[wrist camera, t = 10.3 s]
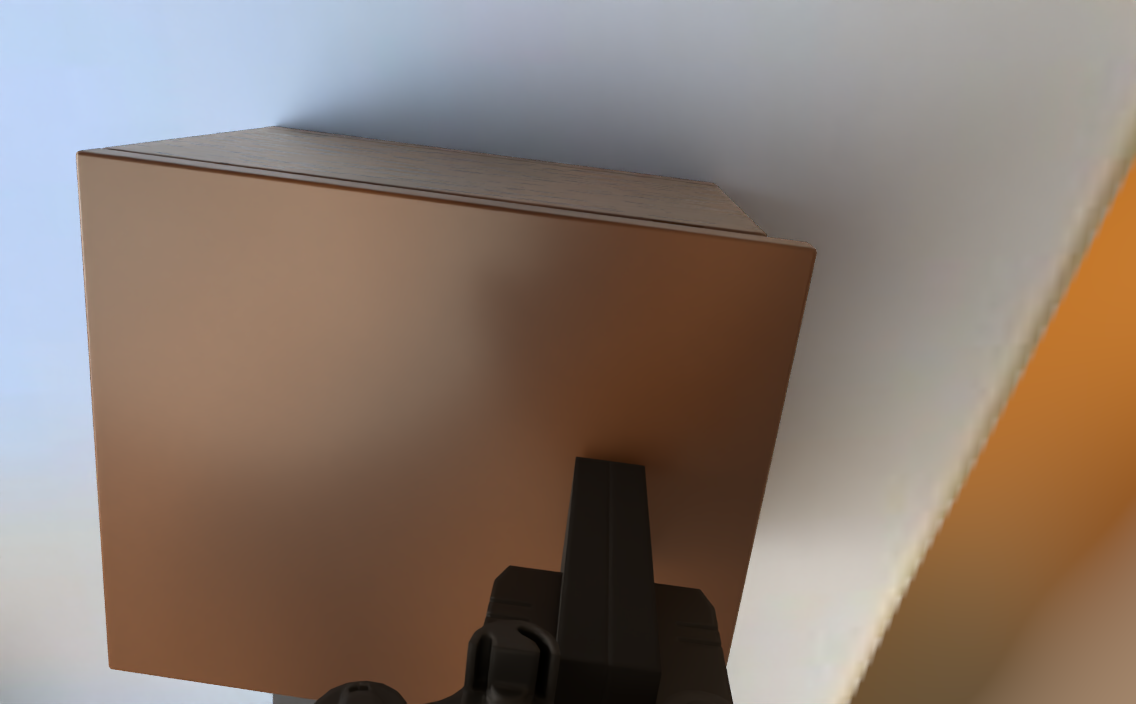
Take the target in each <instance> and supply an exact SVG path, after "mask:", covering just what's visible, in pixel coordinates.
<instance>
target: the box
mask: <svg viewBox="0 0 1136 704" xmlns="http://www.w3.org/2000/svg"><path fill="white" fill-rule="evenodd" d="M103 149H109V150H116V151H124V152H131V153H139V154H146V155H154V156H161V157H169V158H176V159H184V160H192V161H199V162H207V163H214V164H222V165H229V166H237V167H244V168H252V169H259V170H267V171H275V172H282V173H290V174H297V175H305V176H312V177H320V178H327V179H335V180H342V181H350V182H358V183H365V184H373V185H380V186H388V187H395V188H403V189H410V190H418V191H425V192H433V193H441V194H448V195H456V196H463V197H471V198H478V199H486V200H493V201H501V202H508V203H516V204H524V205H531V206H539V207H546V208H554V209H561V210H569V211H576V212H584V213H591V214H599V215H607V216H614V217H622V218H629V219H637V220H644V221H652V222H659V223H667V224H674V225H682V226H689V227H697V228H705V229H712V230H720V231H727V232H735V233H742V234H750V235H757V236H765V237H767V234H766V233H765V232H764V231H763V230H762V229H760V228H759V227H758V226H757V225H756V224H755V223H754V222H753V221H752V220H751V219H750V218H749V217H748V216H747V215H746V214H745V213H744V212H743V211H742V210H741V209H740V208H739V207H738V206H737V205H736V204H735V203H734V202H733V201H732V200H731V199H730V198H729V197H728V196H727V195H726V194H725V193H724V192H723V191H722V190H721V189H720V188H719V187H718V186H717V185H716V184H715V183H711V182H703V181H695V180H688V179H680V178H672V177H664V176H657V175H649V174H641V173H633V172H626V171H618V170H610V169H602V168H595V167H587V166H579V165H571V164H564V163H556V162H548V161H540V160H533V159H525V158H517V157H509V156H502V155H494V154H486V153H478V152H471V151H463V150H455V149H447V148H440V147H432V146H424V145H416V144H409V143H401V142H393V141H385V140H378V139H370V138H362V137H354V136H347V135H339V134H331V133H323V132H316V131H308V130H300V129H292V128H285V127H277V126H271V127H264V128H256V129H248V130H240V131H232V132H224V133H216V134H208V135H200V136H192V137H184V138H176V139H169V140H161V141H153V142H145V143H137V144H129V145H121V146H113V147H106V148H103Z"/></svg>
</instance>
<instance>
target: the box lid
mask: <svg viewBox="0 0 1136 704" xmlns="http://www.w3.org/2000/svg"><path fill="white" fill-rule="evenodd" d="M76 163H77V179H78V194H79V210H80V225H81V241H82V256H83V272H84V287H85V303H86V318H87V334H88V349H89V365H90V380H91V396H92V411H93V427H94V442H95V458H96V473H97V489H98V504H99V520H100V535H101V551H102V566H103V582H104V597H105V613H106V628H107V644H108V659H109V667H110V668H111V669H115V670H122V671H128V672H135V673H141V674H148V675H155V676H161V677H168V678H174V679H181V680H188V681H194V682H201V683H207V684H214V685H221V686H227V687H234V688H240V689H247V690H254V691H260V692H267V693H273V694H280V695H287V696H293V697H300V698H306V699H313V700H318V699H319V698H320V697H322V696H323V695H324V694H325V693H326V692H328V691H329V690H330V689H332V688H335V687H337V686H340V685H342V684H345V683H348V682H357V681H372V682H378V683H384V684H385V685H387V686H389V687H391V688H393V689H395V690H397V691H398V692H399V693H400V694H401V696H402V697H403V698H404V699H405V701H406V702H407V704H425V703H430V702H435V701H440V700H442V699H444V698H447V697H449V696H452V695H453V694H454V693H456V692H457V691H459V690H460V689H462V687H463V686H464V681H465V671H466V661H467V651H468V642H469V641H470V639H471V637H472V635H473V634H474V632H475V631H476V630H478V629H480V628H481V627H483V625H484V621H485V617H486V613H487V609H488V604H489V601H490V596H491V592H492V588H493V583H494V580H495V579H496V578H497V577H498V576H499V575H500V574H501V573H502V572H503V571H504V570H505V569H506V568H507V567H508V566H509V565H511V566H518V567H526V568H533V569H541V570H548V571H555V572H560V569H561V561H562V554H563V547H564V539H565V532H566V525H567V517H568V510H569V503H570V496H571V488H572V481H573V474H574V466H575V459H576V457H584V458H591V459H599V460H606V461H613V462H621V463H628V464H636V465H643V466H645V473H646V486H647V498H648V510H649V523H650V535H651V547H652V560H653V572H654V583H658V584H666V585H673V586H681V587H688V588H695V589H700V590H701V591H702V592H703V593H704V595H705V596H706V597H707V599H708V600H709V601H710V602H711V604H712V605H713V606H714V608H715V612H716V617H717V622H718V631H719V633H720V638H721V647H722V648H723V654H724V659H725V664H726V666H727V662H728V657H729V652H730V648H731V643H732V639H733V634H734V630H735V625H736V620H737V616H738V611H739V607H740V602H741V598H742V593H743V588H744V584H745V579H746V575H747V570H748V566H749V561H750V557H751V552H752V547H753V543H754V538H755V534H756V529H757V525H758V520H759V515H760V511H761V506H762V502H763V497H764V493H765V488H766V483H767V479H768V474H769V470H770V465H771V461H772V456H773V451H774V447H775V442H776V438H777V433H778V429H779V424H780V420H781V415H782V410H783V406H784V401H785V397H786V392H787V388H788V383H789V378H790V374H791V369H792V365H793V360H794V356H795V351H796V346H797V342H798V337H799V333H800V328H801V324H802V319H803V315H804V310H805V305H806V301H807V296H808V292H809V287H810V283H811V278H812V273H813V269H814V264H815V260H816V255H817V251H816V249H815V248H814V247H813V246H812V245H811V244H809V243H808V242H803V241H795V240H788V239H780V238H772V237H765V236H757V235H750V234H742V233H735V232H727V231H720V230H712V229H705V228H697V227H689V226H682V225H674V224H667V223H659V222H652V221H644V220H637V219H629V218H622V217H614V216H607V215H599V214H591V213H584V212H576V211H569V210H561V209H554V208H546V207H539V206H531V205H524V204H516V203H508V202H501V201H493V200H486V199H478V198H471V197H463V196H456V195H448V194H441V193H433V192H425V191H418V190H410V189H403V188H395V187H388V186H380V185H373V184H365V183H358V182H350V181H342V180H335V179H327V178H320V177H312V176H305V175H297V174H290V173H282V172H275V171H267V170H259V169H252V168H244V167H237V166H229V165H222V164H214V163H207V162H199V161H192V160H184V159H176V158H169V157H161V156H154V155H146V154H139V153H131V152H124V151H116V150H109V149H101V148H97V149H89V150H81V151H78V152H77V153H76Z"/></svg>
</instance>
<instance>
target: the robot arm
mask: <svg viewBox="0 0 1136 704" xmlns="http://www.w3.org/2000/svg"><path fill="white" fill-rule="evenodd" d="M314 704H407V702H406V701H405V699H404V698H403V697H402V696H401V694H400V693H399V692H398V691H397V690H395V689H393V688H391V687H389V686H387V685H385V684H384V683H378V682H372V681H357V682H348V683H345V684H342V685H340V686H337V687H335V688H332V689H330V690H329V691H328V692H326V693H325V694H324V695H323V696H322V697H320V698H319V699H318V700H317V701H316V702H315V703H314ZM425 704H733V701H732V695H731V690H730V685H729V680H728V675H727V669H726V664H725V659H724V654H723V648H722V647H721V638H720V633H719V631H718V622H717V617H716V612H715V608H714V606H713V605H712V604H711V602H710V601H709V600H708V599H707V597H706V596H705V595H704V593H703V592H702V591H701V590H700V589H695V588H688V587H681V586H673V585H666V584H658V583H654V572H653V560H652V547H651V535H650V523H649V510H648V498H647V486H646V473H645V466H643V465H636V464H628V463H621V462H613V461H606V460H599V459H591V458H584V457H576V459H575V466H574V474H573V481H572V488H571V496H570V503H569V510H568V517H567V525H566V532H565V539H564V547H563V554H562V561H561V569H560V572H555V571H548V570H541V569H533V568H526V567H518V566H511V565H509V566H508V567H507V568H506V569H505V570H504V571H503V572H502V573H501V574H500V575H499V576H498V577H497V578H496V579H495V580H494V583H493V588H492V592H491V596H490V601H489V604H488V609H487V613H486V617H485V621H484V625H483V627H481V628H480V629H478V630H476V631H475V632H474V634H473V635H472V637H471V639H470V641H469V642H468V651H467V661H466V671H465V681H464V686H463V687H462V689H460V690H459V691H457V692H456V693H454V694H453V695H452V696H449V697H447V698H444V699H442V700H440V701H435V702H430V703H425Z"/></svg>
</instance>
